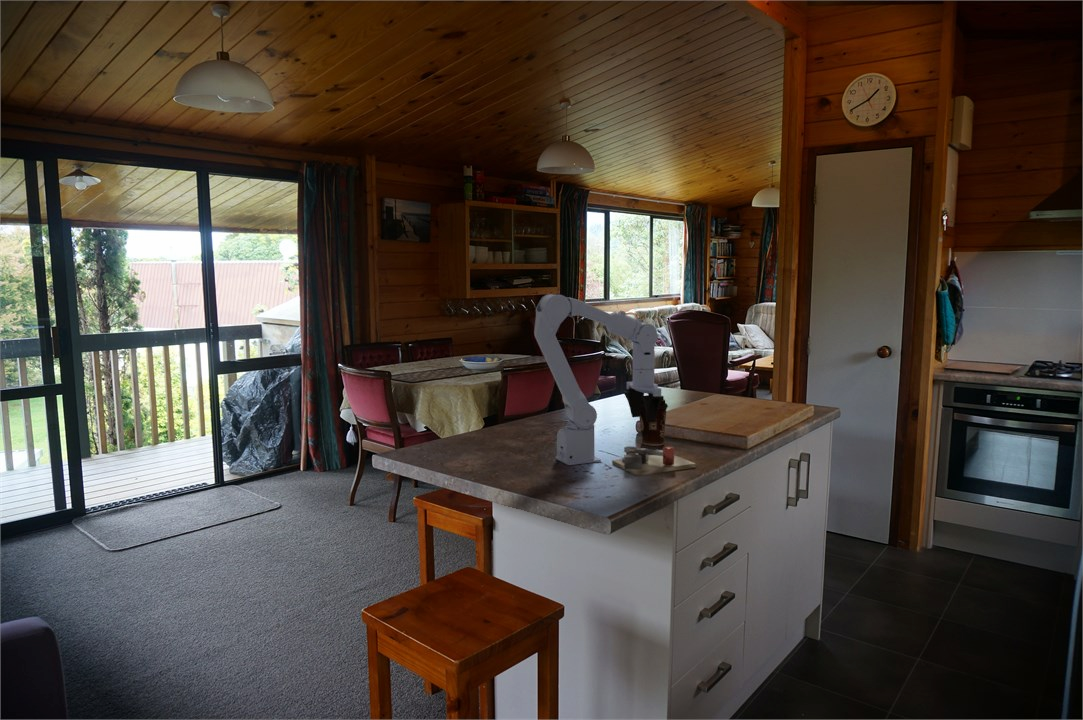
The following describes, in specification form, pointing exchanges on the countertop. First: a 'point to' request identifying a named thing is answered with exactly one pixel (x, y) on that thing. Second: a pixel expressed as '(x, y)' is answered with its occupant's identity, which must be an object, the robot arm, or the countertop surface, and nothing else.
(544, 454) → the countertop surface
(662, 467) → the cracker base
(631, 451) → the lever
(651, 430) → the coffee cup
